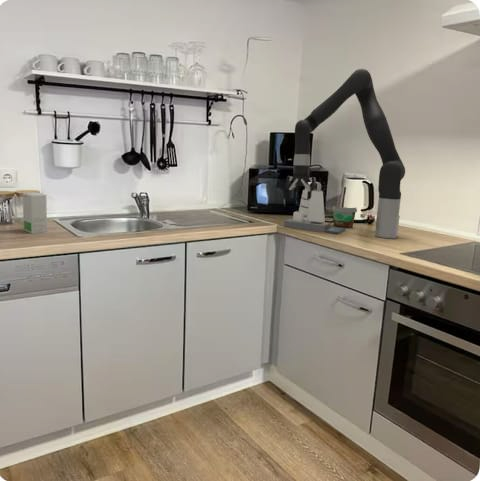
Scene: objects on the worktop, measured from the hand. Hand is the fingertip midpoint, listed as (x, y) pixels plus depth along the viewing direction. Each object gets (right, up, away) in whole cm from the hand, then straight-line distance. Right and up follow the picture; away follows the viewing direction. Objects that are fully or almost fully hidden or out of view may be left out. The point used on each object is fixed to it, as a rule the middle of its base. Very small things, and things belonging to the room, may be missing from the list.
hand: (300, 198), depth 214 cm
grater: (+9, -9, +24) cm, 27 cm away
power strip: (+3, -14, +1) cm, 14 cm away
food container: (+21, -13, +8) cm, 26 cm away
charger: (-1, -13, +3) cm, 14 cm away
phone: (+16, -16, -5) cm, 23 cm away
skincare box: (-112, -16, -29) cm, 117 cm away
